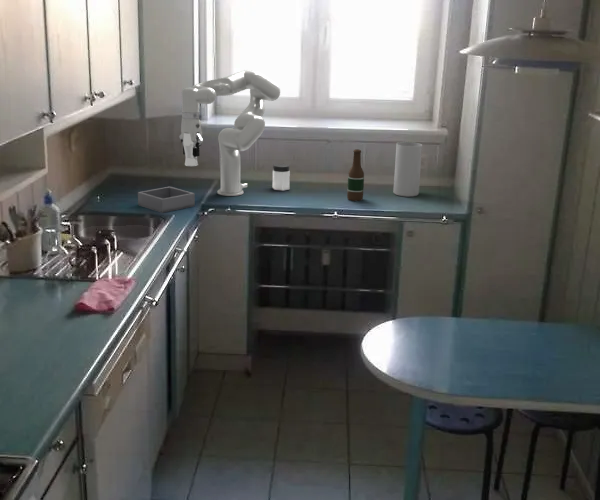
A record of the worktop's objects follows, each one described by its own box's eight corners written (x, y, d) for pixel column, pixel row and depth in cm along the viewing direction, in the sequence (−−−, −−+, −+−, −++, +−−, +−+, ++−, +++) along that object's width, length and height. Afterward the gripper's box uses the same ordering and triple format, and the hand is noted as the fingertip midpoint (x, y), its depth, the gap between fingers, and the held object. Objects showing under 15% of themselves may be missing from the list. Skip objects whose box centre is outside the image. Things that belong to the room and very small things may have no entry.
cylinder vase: (423, 195, 376) (427, 145, 368) (402, 197, 370) (405, 147, 363) (409, 190, 386) (412, 141, 379) (388, 192, 381) (391, 142, 373)
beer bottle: (366, 200, 364) (368, 150, 357) (352, 201, 360) (355, 151, 353) (356, 196, 370) (359, 147, 363) (343, 198, 366) (345, 149, 359)
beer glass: (196, 166, 345) (195, 134, 341) (181, 165, 347) (180, 133, 342) (201, 164, 352) (200, 131, 347) (186, 163, 353) (186, 130, 348)
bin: (170, 199, 356) (169, 186, 354) (194, 206, 344) (194, 193, 343) (138, 205, 343) (137, 192, 341) (162, 212, 332) (162, 199, 330)
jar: (271, 186, 386) (271, 163, 382) (286, 186, 387) (287, 163, 384) (274, 190, 377) (275, 167, 374) (290, 190, 379) (291, 166, 376)
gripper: (209, 117, 339) (209, 157, 345) (184, 113, 351) (185, 151, 356) (196, 118, 334) (197, 159, 340) (171, 114, 345) (172, 153, 351)
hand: (191, 154), depth 348 cm, fingers closed on beer glass, 6 cm apart
